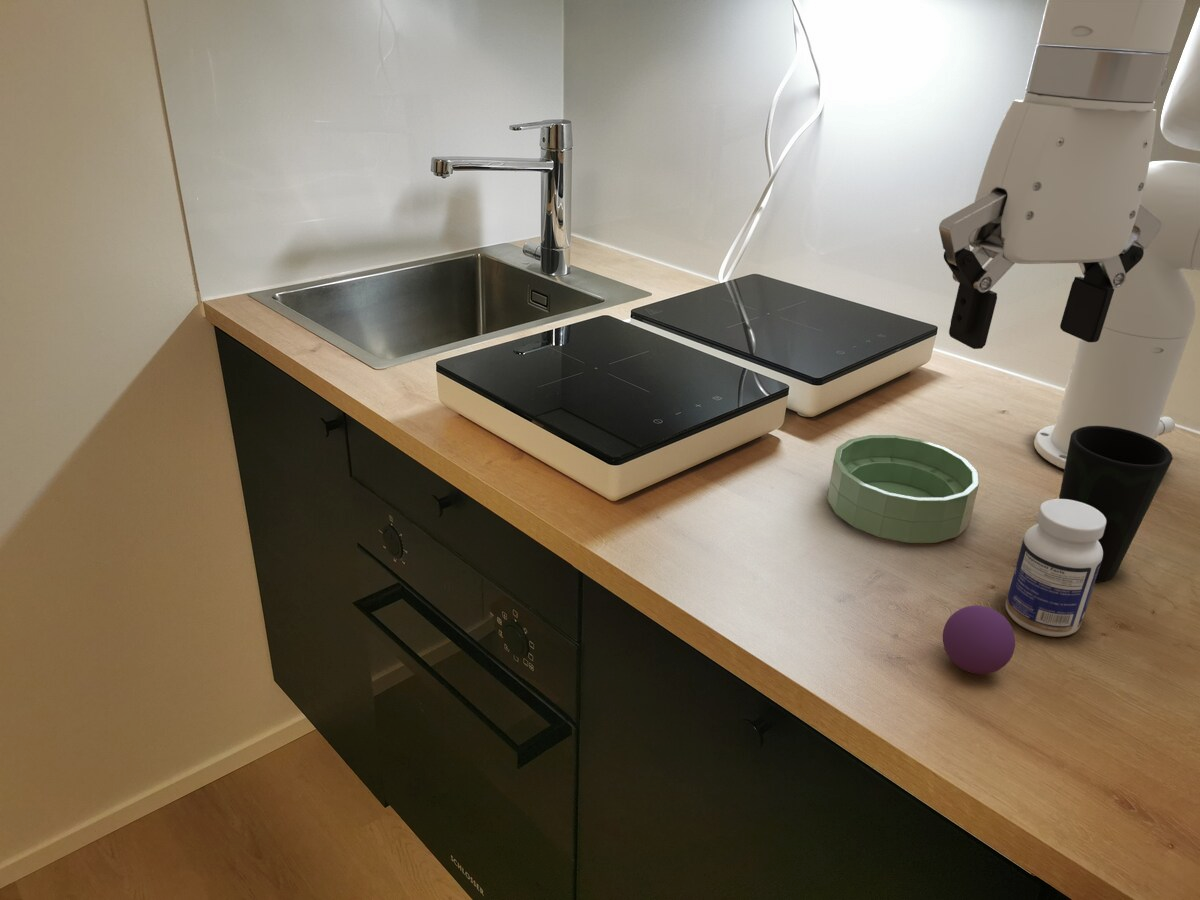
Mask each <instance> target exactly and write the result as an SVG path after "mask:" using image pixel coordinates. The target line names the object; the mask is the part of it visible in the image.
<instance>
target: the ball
mask: <svg viewBox="0 0 1200 900" xmlns="http://www.w3.org/2000/svg"><path fill="white" fill-rule="evenodd" d="M942 645H943V648H944V651H945V653H946V655H947V656H948V658H949V659H950V661H951V662H952V663H953V664H954V665H955V666H957V667H959V668H960V669H961V670H963V671H965V672H968V673H971V674H975V675H988V674H992V673H996V672H998V671H1000V670H1001V669H1003V668H1004V667H1005V666H1006V665H1007V664H1008V663H1009V662H1010V661H1011V659H1012V657H1013V655H1014V652H1015V650H1016V649H1015V648H1016V636H1015V632H1014V630H1013V627H1012V625H1011V624H1010V622H1009V621H1008V620H1007V618H1006V617H1005V616H1004V615H1003V614H1002V613H1000V612H999V611H997V610H995V609H993V608H992V607H988V606H985V605H976V604H975V605H968V606H964V607H961V608H959V609H958V610H955V612H953V613H952V614H951V615H950V616H949V617H948V619H947V620H946V622H945V623H944V626H943V629H942Z"/></svg>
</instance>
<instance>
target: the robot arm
mask: <svg viewBox="0 0 1200 900" xmlns="http://www.w3.org/2000/svg"><path fill="white" fill-rule="evenodd" d="M1186 1H1187V0H1047V1H1046V4H1045V8H1044V12H1043V17H1042V21H1041V25H1040V28H1039V29H1040V30H1039V33H1038V37H1037V42H1036V46H1035V49H1034V50H1035V51H1034V55H1033V58H1032V63H1031V67H1030V71H1029V75H1028V79H1027V83H1026V86H1025V92H1024V95H1023V99H1013V100H1012V101H1011V104H1010V105H1009V107H1008V109H1007V111H1006V113H1005V115H1004V117H1003V120H1002V121H1001V124H1000V126H999V129H998V130H997V133H996V135H995V137H994V138H995V139H994V140H993V144H992V145H991V148H990V151H989V154H988V157H987V159H986V163H985V166H984V168H983V171H982V175H981V178H980V181H979V185H978V187H977V191H976V194H975V199H974V201H973V202H972V203H971V204H969V205H967V206H965V207H964V208H961V209H960V210H958V211H956V212H954V213H952V214H950V215H949V216H947V217H945V218H944V219H942V220H941V221H940V222H939V225H938V230H939V235H940V240H941V244H942V245H941V246H942V249H943V250H944V252H943V260H944V261H945V262H946V265H947V266H948V269H950V271H951V272H952V279H953V281H955V282H956V283H959V284H958V288H957V293H956V297H955V301H954V305H953V310H952V315H951V318H950V325H949V329H948V335H949V337H950V338H952V339H954V340H955V341H958V342H960V343H962V344H963V345H965V346H967V347H969V348H971V349H973V350H980V349H983V348H984V347H985V346H986V344H987V341H988V336H989V332H990V329H991V324H992V320H993V317H994V314H995V313H994V312H995V309H996V304H997V300H998V292H995V291H993V290H991V289H992V288H993V287H994V286H995V285H996V284H997V283H998V282H999V280H1001V279H1002V277H1004V275H1005V274H1006V273H1007V272H1008V271H1009V270H1010V269H1011V268H1012V267H1013V266H1014V265H1015V264H1018V265H1019V264H1020V265H1047V264H1050V265H1051V264H1053V265H1054V264H1078V266H1079V268H1080V270H1081V273H1082V275H1083V277H1082V276H1074V279H1073V281H1072V282H1071V286H1070V289H1069V293H1068V296H1067V300H1066V304H1065V307H1064V311H1063V314H1062V318H1061V321H1060V325H1059V329H1060V330H1061V331H1062V332H1064V333H1066V334H1069V335H1070V336H1073V337H1074V338H1075V337H1076V338H1078V339H1079V340H1078V343H1077V347H1076V351H1075V354H1074V358H1073V361H1072V365H1071V368H1070V371H1069V375H1068V379H1067V382H1066V385H1065V389H1064V391H1063V392H1064V393H1063V396H1062V399H1061V403H1060V406H1059V409H1058V412H1057V416H1056V420H1055V424H1050V425H1048V426H1044V427H1042V428H1041V429H1038V431H1037V433H1036V434H1035V438H1034V441H1033V445H1034V448H1035V450H1036V452H1037V453H1038V454H1039V455H1040V456H1041V457H1042V458H1043V459H1044V460H1046V461H1048V462H1049V464H1050V463H1051V464H1052V465H1054V466H1056V467H1057V468H1060V469H1062V470H1064V469H1065V464H1066V458H1067V453H1068V448H1069V442H1070V437H1071V434H1072V432H1073V431H1074V430H1077V429H1079V428H1081V427H1086V426H1109V427H1116V428H1122V429H1126V430H1130V431H1133V432H1137V433H1140V434H1143V435H1145V436H1148V437H1150V438H1152V439H1154V440H1156V438H1157V437H1158V436H1161V435H1166V434H1169V433H1172V432H1174V430H1175V427H1176V424H1175V421H1174V419H1173V418H1172V417H1170V416H1168V415H1167V416H1165V415H1164V416H1162V415H1163V412H1164V409H1165V406H1166V403H1167V400H1168V398H1169V394H1170V392H1171V389H1172V386H1173V383H1174V380H1175V377H1176V374H1177V372H1178V368H1179V365H1180V364H1181V360H1182V357H1183V354H1184V351H1185V349H1186V346H1187V343H1188V340H1189V338H1190V334H1191V332H1192V328H1193V326H1194V323H1195V318H1196V301H1195V297H1194V294H1193V291H1192V289H1191V287H1190V284H1189V283H1188V280H1187V278H1186V276H1185V274H1184V272H1183V270H1182V269H1184V270H1191V271H1193V270H1196V271H1200V163H1199V162H1191V161H1189V162H1188V161H1182V160H1153V161H1151V157H1152V151H1153V146H1154V139H1155V131H1156V122H1157V113H1158V112H1157V111H1158V110H1157V109H1156V108H1155V105H1156V100H1157V98H1158V95H1159V91H1160V88H1161V86H1163V85H1164V84H1165V83H1166V82H1167V80H1168V77H1169V69H1168V67H1167V64H1168V62H1169V59H1170V53H1171V52H1172V48H1173V45H1174V41H1175V38H1176V35H1177V31H1178V29H1179V25H1180V21H1181V18H1182V15H1183V11H1184V8H1185V5H1186ZM1160 116H1161V117H1160V132H1161V134H1162V136H1163V137H1164V139H1165V140H1166V141H1167V142H1168V143H1170V144H1172V145H1174V146H1177V147H1179V148H1183V149H1188V150H1191V151H1198V152H1200V7H1199V8H1198V12H1197V14H1196V17H1195V19H1194V22H1193V24H1192V27H1191V30H1190V33H1189V36H1188V38H1187V41H1186V43H1185V46H1184V48H1183V51H1182V54H1181V57H1180V59H1179V62H1178V64H1177V68H1176V70H1175V72H1174V75H1173V78H1172V81H1171V83H1170V86H1169V88H1168V91H1167V94H1166V97H1165V100H1164V104H1163V108H1162V112H1161V115H1160ZM970 247H972V249H971V248H970ZM990 259H991V260H990ZM989 260H990V261H989ZM988 261H989V262H988ZM987 262H988V263H987ZM986 263H987V264H986ZM985 264H986V265H985ZM984 265H985V267H983V266H984Z"/></svg>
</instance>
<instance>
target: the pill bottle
mask: <svg viewBox="0 0 1200 900" xmlns="http://www.w3.org/2000/svg"><path fill="white" fill-rule="evenodd" d="M1036 522H1037V523H1036V524H1034V525H1033V526H1030V528H1029V529H1027V530H1026V532H1025V534H1024V536H1023V539H1022V542H1021V545H1020V550H1019V554H1018V558H1017V560H1016V564H1015V568H1014V572H1013V575H1012V579H1011V582H1010V586H1009V589H1008V593H1007V596H1006V600H1005V610H1006V611H1007V614H1008V615H1009V617H1010V618H1011V619H1012V620H1013V621H1014V622H1015V623H1016V624H1018V625H1019V626H1021V627H1022V628H1023V629H1025V630H1028V631H1030V632H1032V633H1035V634H1037V635H1038V634H1039V635H1042V636H1047V637H1057V638H1058V637H1067V636H1070V635H1072V634H1074V633H1076V632H1077V631H1078V630H1079V629H1080V627H1081V626H1082V623H1083V620H1084V617H1085V614H1086V611H1087V608H1088V605H1089V602H1090V599H1091V595H1092V593H1093V589H1094V586H1095V583H1096V582H1095V580H1096V577H1097V574H1098V571H1099V568H1100V565H1101V562H1102V558H1103V549H1102V546H1101V544H1100V543H1099V541H1098V540H1099V539H1100V538H1102V536H1103V534H1104V530H1105V526H1106V518H1105V516H1104V515H1103V514H1102V513H1101V512H1100V511H1098V510H1097V509H1095V508H1094V507H1092V506H1090V505H1087V504H1085V503H1082V502H1078V501H1074V500H1068V499H1059V498H1053V499H1048V500H1045V501H1043V502H1042V503H1041V504H1040V507H1039V509H1038V512H1037V515H1036Z"/></svg>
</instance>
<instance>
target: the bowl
mask: <svg viewBox="0 0 1200 900" xmlns="http://www.w3.org/2000/svg"><path fill="white" fill-rule="evenodd" d="M831 468H832V469H831V473H830V474H831V475H830V480H829V485H828V492H827V496H826V500H827V501H828V503H829V505H830V507H831V509H832V511H833V512H834V513H835V515H837V516H838V517H840V519H842V520H844V521H845V522H846V523H847V524H849V525H851V526H852V527H854V528H855V529H857V530H860V531H863V532H865V533H867V534H870V535H872V536H875V537H877V538H882V539H887V540H891V541H896V542H903V543H907V544H908V543H909V544H929V543H930V544H932V543H933V544H934V543H935V544H936V543H940V542H943V541H947V540H950V539H951V540H952V539H954V538H957V537H959V536H960V535H961V534H962V533H963V532H964V531H965V530H966V529H967V528H968V527H969V525H970V522H971V518H972V514H973V510H974V506H975V502H976V498H977V495H978V491H979V487H980V480H979V472H978V470H977V468H975V467H974V466H973V465H972V464H971V463H970V461H969V460H968V459H966V458H965V457H963V456H961V455H959V454H958V453H956V452H955V451H952V450H950V449H949V448H947V447H945V446H942V445H939V444H935V443H933V442H929V441H927V440H923V439H920V438H914V437H908V436H902V435H895V434H872V435H871V434H868V435H864V436H860V437H854V438H850V439H848V440H846V441H844V443H842V444H840V445H839V446H838V447H836V449H835V453H834V457H833V462H832V467H831Z"/></svg>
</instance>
